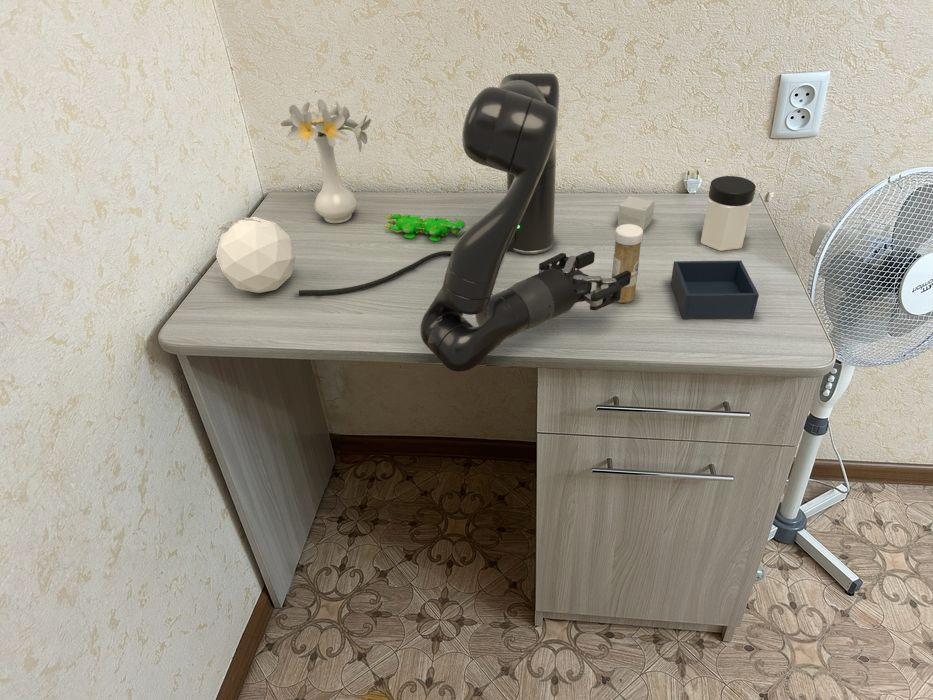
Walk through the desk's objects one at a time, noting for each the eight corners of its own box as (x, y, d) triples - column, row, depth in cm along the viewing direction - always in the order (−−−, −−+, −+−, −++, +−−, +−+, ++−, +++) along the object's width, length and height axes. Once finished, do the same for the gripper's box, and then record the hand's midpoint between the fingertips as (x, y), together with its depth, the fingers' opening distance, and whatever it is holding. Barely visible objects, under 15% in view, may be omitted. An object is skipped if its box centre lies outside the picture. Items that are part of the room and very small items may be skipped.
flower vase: (379, 228, 148) (363, 112, 133) (295, 232, 149) (269, 116, 134) (384, 202, 159) (370, 91, 143) (305, 205, 159) (283, 96, 144)
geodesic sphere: (195, 288, 120) (229, 222, 115) (198, 251, 131) (229, 188, 126) (275, 318, 128) (311, 257, 123) (272, 280, 139) (304, 222, 134)
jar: (753, 241, 136) (767, 184, 128) (729, 256, 132) (741, 198, 124) (714, 226, 141) (725, 171, 134) (690, 239, 137) (700, 183, 130)
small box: (652, 221, 145) (655, 199, 142) (642, 232, 141) (645, 210, 138) (627, 215, 147) (629, 194, 144) (616, 226, 143) (618, 205, 140)
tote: (682, 319, 116) (686, 295, 113) (670, 284, 125) (673, 261, 122) (753, 318, 115) (759, 294, 112) (736, 283, 124) (741, 260, 121)
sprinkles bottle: (633, 305, 120) (641, 237, 112) (607, 302, 121) (613, 234, 113) (636, 291, 123) (644, 224, 115) (611, 288, 125) (617, 221, 116)
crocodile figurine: (462, 245, 140) (460, 226, 138) (380, 237, 145) (377, 219, 142) (470, 230, 145) (470, 212, 143) (391, 223, 150) (389, 205, 147)
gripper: (568, 298, 102) (644, 262, 109) (509, 261, 111) (582, 231, 118) (566, 339, 106) (639, 302, 114) (509, 300, 116) (580, 268, 123)
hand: (610, 265), depth 116 cm, fingers open, 8 cm apart
